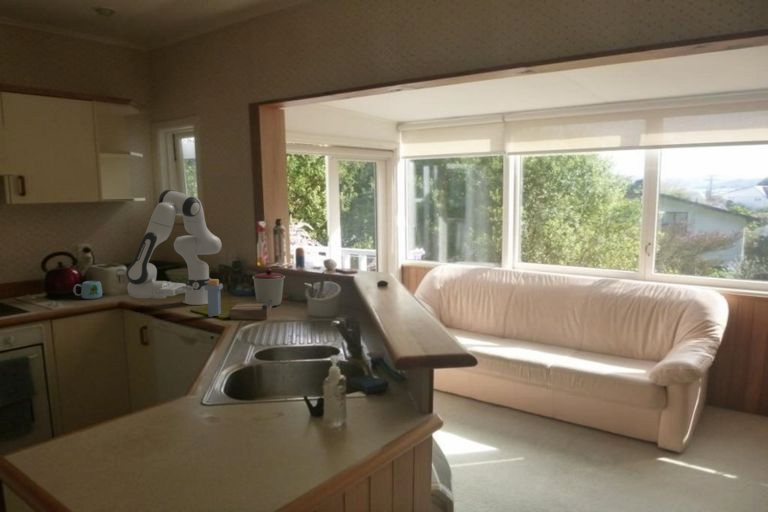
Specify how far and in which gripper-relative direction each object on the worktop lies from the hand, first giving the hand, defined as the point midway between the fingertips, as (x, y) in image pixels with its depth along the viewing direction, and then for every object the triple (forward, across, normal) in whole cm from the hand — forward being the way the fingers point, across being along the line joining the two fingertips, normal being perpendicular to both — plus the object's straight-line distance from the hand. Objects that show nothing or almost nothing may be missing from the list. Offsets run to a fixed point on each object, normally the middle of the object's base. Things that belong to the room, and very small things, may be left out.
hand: (189, 289), depth 257 cm
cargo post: (+12, +1, +14) cm, 18 cm away
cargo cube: (+12, 0, -1) cm, 12 cm away
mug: (-75, +46, +13) cm, 89 cm away
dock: (+31, +1, +14) cm, 34 cm away
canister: (+35, +28, +13) cm, 47 cm away
